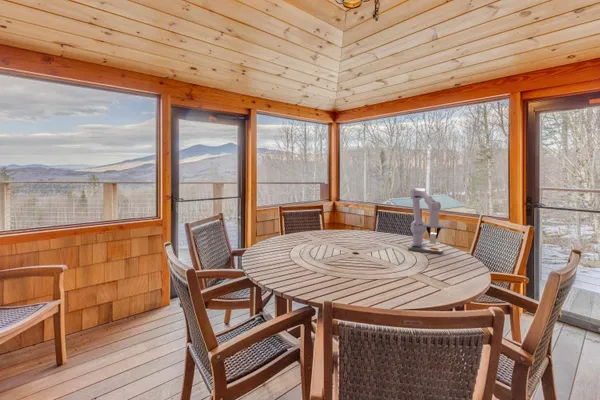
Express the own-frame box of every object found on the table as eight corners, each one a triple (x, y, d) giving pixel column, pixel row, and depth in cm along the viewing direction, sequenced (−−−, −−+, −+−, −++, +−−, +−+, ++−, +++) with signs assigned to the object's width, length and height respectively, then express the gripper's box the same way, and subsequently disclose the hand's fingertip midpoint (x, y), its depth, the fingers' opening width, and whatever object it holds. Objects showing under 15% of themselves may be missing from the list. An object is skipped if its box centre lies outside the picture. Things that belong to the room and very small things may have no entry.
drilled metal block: (430, 242, 216) (430, 232, 216) (436, 242, 214) (436, 233, 214) (429, 243, 213) (429, 233, 212) (435, 244, 211) (436, 234, 210)
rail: (410, 247, 226) (410, 244, 226) (442, 251, 215) (442, 248, 215) (408, 250, 219) (408, 247, 219) (441, 254, 208) (441, 251, 208)
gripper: (422, 219, 212) (421, 238, 214) (444, 220, 205) (444, 240, 206) (423, 217, 218) (422, 236, 220) (445, 219, 211) (444, 238, 212)
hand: (433, 238), depth 213 cm, fingers closed on drilled metal block, 4 cm apart
